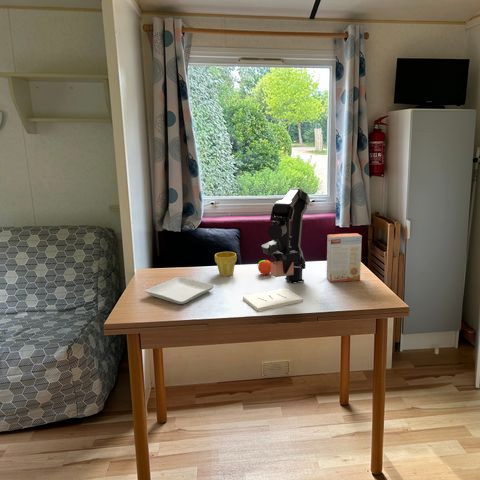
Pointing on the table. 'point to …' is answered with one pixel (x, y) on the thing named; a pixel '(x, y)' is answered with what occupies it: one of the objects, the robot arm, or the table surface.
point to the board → (272, 299)
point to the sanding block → (280, 269)
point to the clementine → (264, 267)
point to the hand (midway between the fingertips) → (282, 271)
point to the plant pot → (225, 263)
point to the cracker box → (343, 257)
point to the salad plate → (179, 290)
